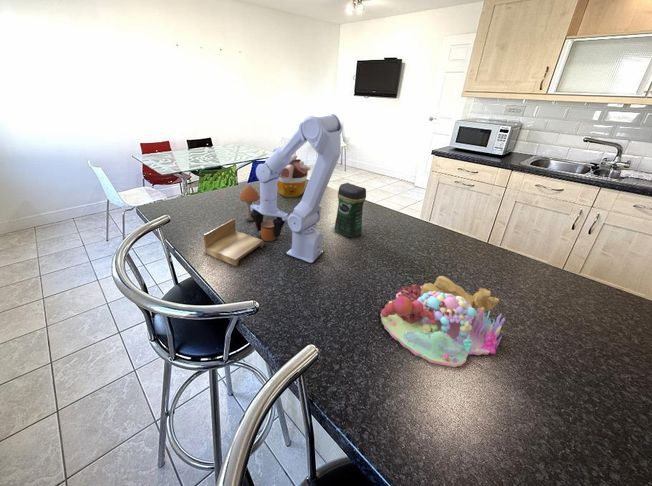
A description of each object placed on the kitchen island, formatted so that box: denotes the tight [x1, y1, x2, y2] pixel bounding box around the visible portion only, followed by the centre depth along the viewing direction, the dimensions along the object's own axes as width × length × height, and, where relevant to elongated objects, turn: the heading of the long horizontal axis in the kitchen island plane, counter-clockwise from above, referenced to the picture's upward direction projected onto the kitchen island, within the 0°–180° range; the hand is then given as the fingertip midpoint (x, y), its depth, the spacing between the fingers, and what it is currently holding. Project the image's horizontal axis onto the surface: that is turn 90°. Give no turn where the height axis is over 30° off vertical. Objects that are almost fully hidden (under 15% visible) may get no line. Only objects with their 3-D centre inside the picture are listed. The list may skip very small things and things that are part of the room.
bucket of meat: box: [277, 154, 312, 198], centre depth 142 cm, size 20×16×20 cm
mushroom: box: [238, 184, 260, 222], centre depth 114 cm, size 8×8×15 cm
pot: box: [260, 219, 277, 242], centre depth 104 cm, size 6×6×6 cm
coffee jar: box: [334, 182, 367, 238], centre depth 106 cm, size 10×8×19 cm
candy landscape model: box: [380, 275, 506, 368], centre depth 68 cm, size 25×24×9 cm
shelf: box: [203, 218, 264, 267], centre depth 96 cm, size 13×14×7 cm
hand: (268, 233), depth 105 cm, fingers open, 7 cm apart
